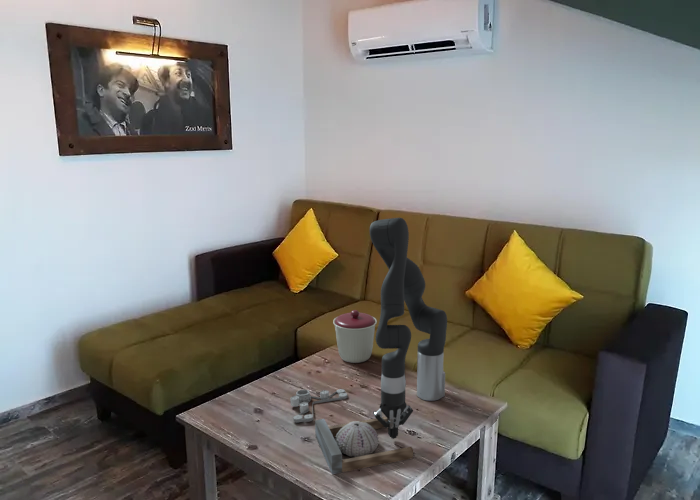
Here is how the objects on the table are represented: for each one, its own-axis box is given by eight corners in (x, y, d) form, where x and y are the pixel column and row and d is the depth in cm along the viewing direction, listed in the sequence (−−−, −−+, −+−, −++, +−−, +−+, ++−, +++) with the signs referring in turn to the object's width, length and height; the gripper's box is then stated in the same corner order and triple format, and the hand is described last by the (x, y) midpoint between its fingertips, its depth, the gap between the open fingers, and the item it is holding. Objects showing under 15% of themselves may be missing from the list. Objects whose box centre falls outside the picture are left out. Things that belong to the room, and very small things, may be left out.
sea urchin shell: (385, 441, 178) (385, 418, 176) (367, 465, 166) (367, 441, 165) (347, 432, 184) (347, 409, 182) (327, 454, 172) (327, 430, 170)
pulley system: (271, 417, 195) (305, 428, 186) (270, 404, 194) (304, 414, 186) (320, 388, 217) (352, 397, 208) (320, 376, 216) (352, 385, 207)
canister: (324, 359, 238) (323, 311, 233) (352, 345, 251) (352, 300, 246) (358, 371, 226) (357, 321, 221) (385, 356, 240) (385, 309, 235)
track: (389, 424, 188) (389, 407, 187) (413, 458, 169) (413, 440, 168) (315, 437, 181) (315, 420, 180) (332, 474, 162) (331, 455, 161)
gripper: (408, 378, 179) (408, 427, 184) (368, 384, 176) (369, 434, 180) (418, 389, 172) (417, 440, 177) (376, 395, 169) (376, 447, 173)
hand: (393, 437), depth 178 cm, fingers closed
